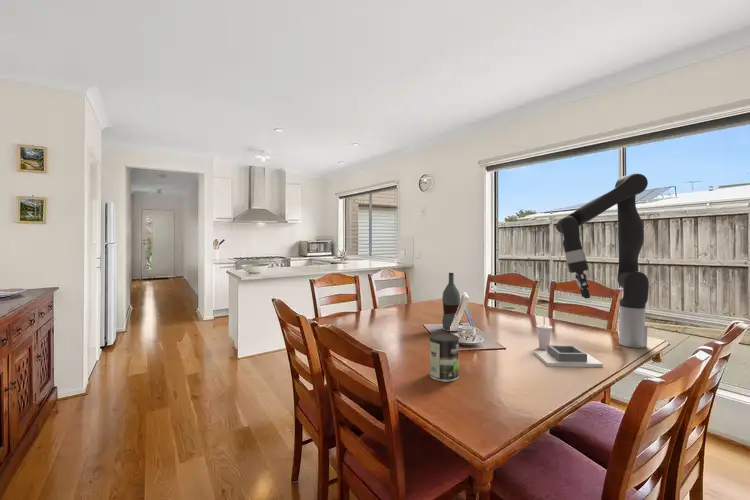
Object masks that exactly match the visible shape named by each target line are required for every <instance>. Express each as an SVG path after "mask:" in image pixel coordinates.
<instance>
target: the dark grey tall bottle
mask: <svg viewBox="0 0 750 500" xmlns="http://www.w3.org/2000/svg"><path fill="white" fill-rule="evenodd" d="M454 277H455V275H454V272H448V284H447V285H446V287H445V288H444V290H443V291H442V307H443V308H442V309H443V310H442V311H443V315H442V329H443V328H444V329H445V330H450V326H451V323H452V321H453V318H454V315H455V313H456V311H457V308H458V306H459V304H460V303H461V294H460V291H459V289H458V287H456V284H455V283H454V282H455V281H454V279H455V278H454ZM459 307H460V306H459ZM459 325H460V326H461V321H460V322H459ZM444 329H443V330H444Z"/></svg>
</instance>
